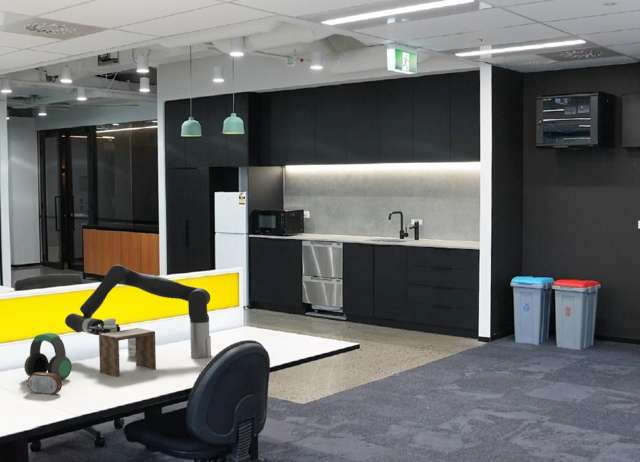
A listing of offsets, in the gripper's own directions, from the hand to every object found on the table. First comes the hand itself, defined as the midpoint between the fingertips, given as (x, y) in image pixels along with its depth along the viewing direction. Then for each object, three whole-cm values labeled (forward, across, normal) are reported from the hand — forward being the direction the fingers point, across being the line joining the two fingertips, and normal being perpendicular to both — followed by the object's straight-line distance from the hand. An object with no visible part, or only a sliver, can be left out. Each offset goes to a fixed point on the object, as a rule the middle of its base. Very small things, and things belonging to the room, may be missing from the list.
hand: (113, 330), depth 371 cm
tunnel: (+12, 0, +17) cm, 21 cm away
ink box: (-14, +22, +18) cm, 32 cm away
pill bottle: (-2, 0, +7) cm, 7 cm away
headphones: (-2, -32, +18) cm, 36 cm away
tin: (+21, -46, +17) cm, 53 cm away
